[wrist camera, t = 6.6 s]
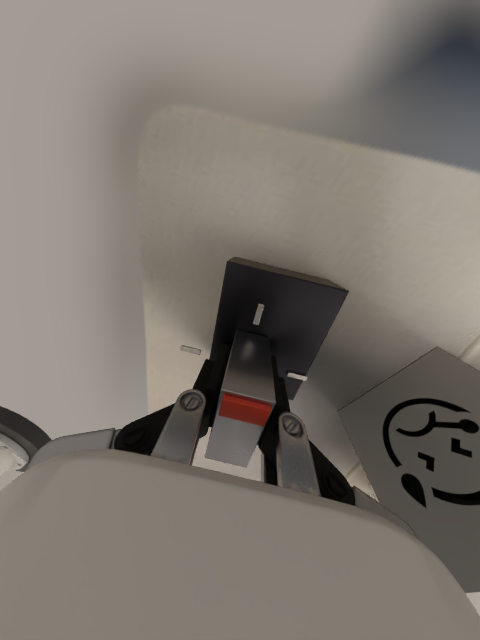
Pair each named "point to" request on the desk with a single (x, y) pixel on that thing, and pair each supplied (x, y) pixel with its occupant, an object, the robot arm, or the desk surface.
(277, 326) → the switch panel
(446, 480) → the icon cube
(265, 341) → the red-banded grey bar
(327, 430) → the desk surface
